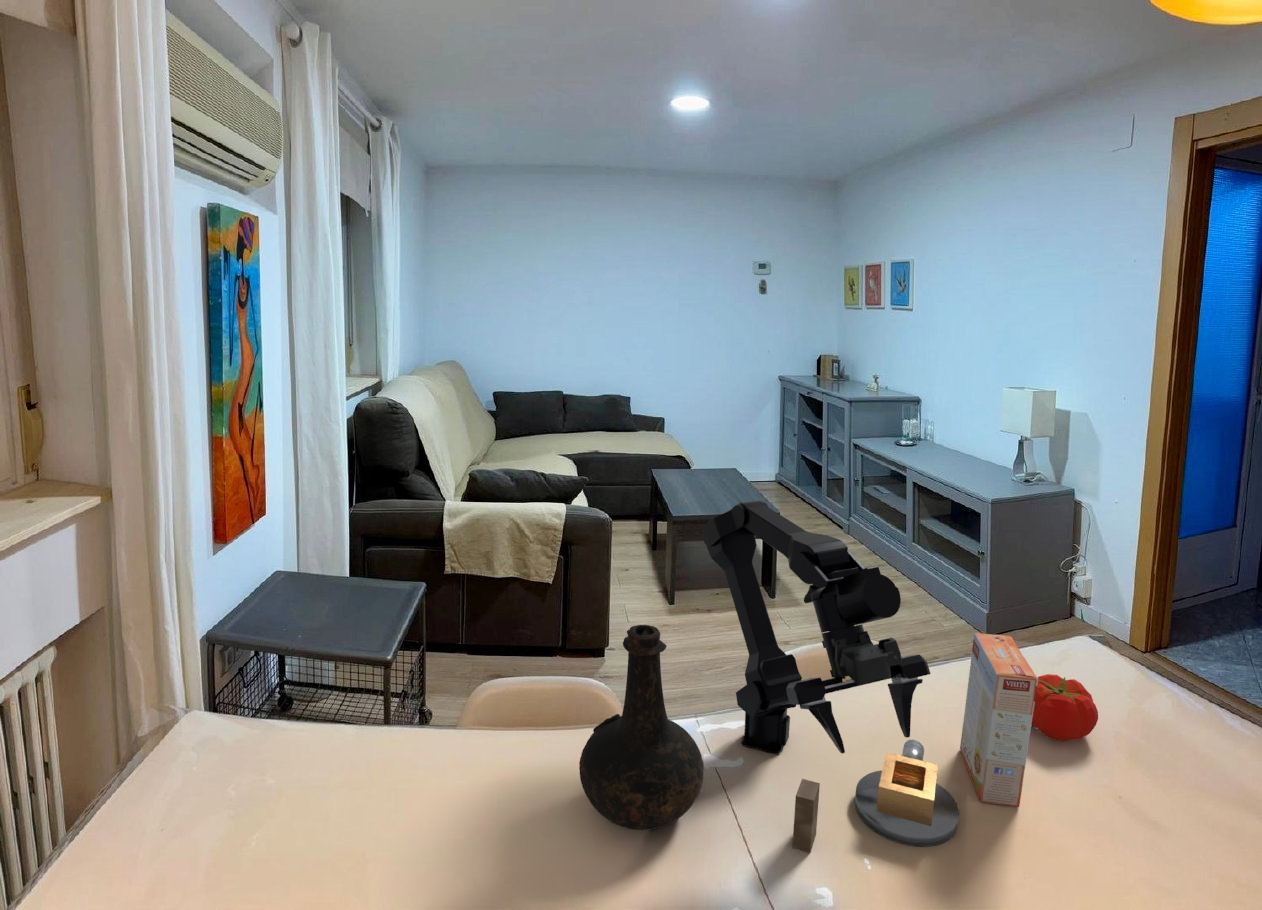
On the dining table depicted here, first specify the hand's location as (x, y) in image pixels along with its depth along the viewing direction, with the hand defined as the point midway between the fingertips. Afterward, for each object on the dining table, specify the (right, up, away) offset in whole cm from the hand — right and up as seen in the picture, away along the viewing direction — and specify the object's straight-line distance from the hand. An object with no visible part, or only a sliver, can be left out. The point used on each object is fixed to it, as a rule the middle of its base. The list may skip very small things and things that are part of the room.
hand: (875, 745), depth 104 cm
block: (-9, -14, +2) cm, 17 cm away
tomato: (+39, -8, +29) cm, 50 cm away
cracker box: (+22, -11, +16) cm, 30 cm away
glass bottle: (-31, -12, +8) cm, 35 cm away
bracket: (+7, -12, +9) cm, 17 cm away
